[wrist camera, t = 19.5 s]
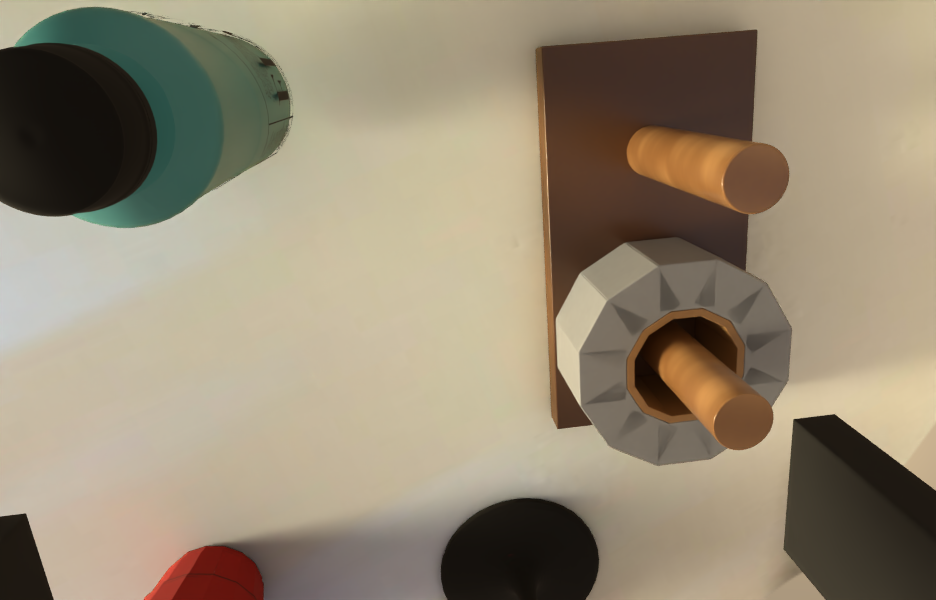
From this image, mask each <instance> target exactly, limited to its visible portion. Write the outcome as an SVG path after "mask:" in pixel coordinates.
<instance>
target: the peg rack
mask: <svg viewBox="0 0 936 600" xmlns="http://www.w3.org/2000/svg"><path fill="white" fill-rule="evenodd" d="M756 49H757V30H747V31H734V32H721V33H708V34H696V35H683V36H670V37H658V38H645V39H632V40H619V41H607V42H594V43H581V44H568V45H556V46H543V47H538V48H536V70H537V93H538V116H539V139H540V161H541V184H542V207H543V230H544V252H545V275H546V298H547V321H548V343H549V366H550V389H551V412H552V418H553V420H554V422H555V424H556V426H557V429H562V428H570V427H578V426H587V425H593V424H592V422H591V421H590V420H589V418H588V417H587V415H586V414H585V413H584V411H583V410H582V408H581V407H580V405H579V404H578V402H577V400H576V398H575V397H574V395H573V393H572V391H571V390H570V388H569V386H568V384H567V383H566V381H565V379H564V377H563V376H562V374H561V372H560V370H559V369H558V365H557V340H556V317H557V315H558V314H559V312H560V310H561V308H562V306H563V304H564V302H565V300H566V298H567V297H568V295H569V293H570V291H571V289H572V287H573V285H574V283H575V281H576V280H577V278H578V276H579V274H580V273H581V272H582V271H584V270H585V269H586V268H588V267H589V266H591V265H592V264H594V263H595V262H597V261H598V260H600V259H601V258H603V257H604V256H606V255H607V254H609V253H610V252H611V251H613V250H614V249H616V248H617V247H619V246H620V245H622V244H623V243H626V242H632V241H642V240H652V239H662V238H672V237H679V238H681V239H683V240H685V241H687V242H689V243H691V244H693V245H695V246H697V247H699V248H701V249H703V250H706V251H708V252H710V253H712V254H714V255H716V256H718V257H720V258H722V259H724V260H726V261H727V262H729V263H731V264H733V265H735V266H737V267H738V268H740V269H742V270H744V271H746V253H747V232H748V214H757V213H761V212H763V211H766V210H768V209H769V208H771V207H772V206H774V205H775V204H776V203H777V202H778V201H779V200H780V198H781V197H782V196H783V194H784V192H785V190H786V188H787V185H788V181H789V167H788V164H787V161H786V159H785V157H784V156H783V154H782V153H781V152H780V151H779V150H778V149H777V148H775V147H773V146H771V145H768V144H763V143H758V142H752V131H753V110H754V90H755V69H756ZM695 326H696V317H689V318H680V319H673V320H671V321H670V322H668V323H667V324H665V325H664V326H662V327H661V328H659V329H658V330H656V331H655V332H653V333H652V334H650V335H649V336H648V337H647V339H646V341H645V343H644V344H643V346H642V348H641V350H640V352H639V353H638V355H637V357H636V359H635V375H636V376H647V375H656V374H658V376H659V377H660V378H661V379H662V380H663V381H664V382H665V383H666V384H667V386H668V387H669V388H670V389H671V390H672V391H673V392H674V393H675V394H676V396H677V397H678V398H679V399H680V400H681V401H682V402H683V403H684V404H685V405H686V407H687V408H688V409H689V410H690V411H691V412H692V413H693V414H694V415H695V417H696V418H697V419H698V420H699V421H700V422H701V423H702V424H703V425H704V427H705V428H706V429H707V430H708V431H709V432H710V433H711V434H712V435H713V437H714V438H715V439H716V440H717V441H718V442H719V443H720V444H721V445H722V446H724V447H726V448H729V449H733V450H744V449H748V448H751V447H753V446H755V445H757V444H758V443H760V442H761V441H762V440H763V439H764V438H765V437H766V436H767V434H768V433H769V431H770V429H771V427H772V424H773V410H772V407H771V405H770V404H769V402H768V401H767V400H766V399H765V398H764V397H762V396H761V395H760V394H759V393H758V392H757V391H755V390H754V389H753V388H752V387H751V386H750V385H748V384H747V383H746V382H745V381H744V380H743V379H741V378H740V377H739V376H738V375H737V374H735V373H734V372H733V371H732V370H731V369H730V368H728V367H727V366H726V365H725V364H724V363H723V362H721V361H720V360H719V359H718V358H717V357H716V356H714V355H713V354H712V353H711V352H710V351H709V350H707V349H706V348H705V347H704V346H703V345H702V344H700V343H699V342H698V341H697V340H696V339H695Z"/></svg>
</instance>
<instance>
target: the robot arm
mask: <svg viewBox="0 0 936 600" xmlns="http://www.w3.org/2000/svg"><path fill="white" fill-rule="evenodd" d="M784 550H785V551H786V553H787V554H788V555H789V556H790V557H791V559H792V560H793V561H794V562H795V563H796V565H797V566H798V567H799V568H800V569H801V571H802V572H803V573H804V574H805V575H806V577H807V578H808V579H809V580H810V581H811V583H812V584H813V585H814V586H815V587H816V588H817V590H818V591H819V592H820V593H821V595H822V596H823V597H824V598H825V599H826V600H936V491H935V490H934V489H933V488H932V487H930V486H929V485H927V484H926V483H925V482H924V481H922V480H921V479H920V478H918V477H917V476H916V475H914V474H913V473H912V472H910V471H909V470H908V469H906V468H905V467H904V466H902V465H901V464H900V463H898V462H897V461H896V460H894V459H893V458H892V457H890V456H889V455H888V454H886V453H885V452H884V451H883V450H881V449H880V448H879V447H877V446H876V445H875V444H873V443H872V442H871V441H869V440H868V439H867V438H865V437H864V436H863V435H861V434H860V433H859V432H857V431H856V430H855V429H853V428H852V427H851V426H849V425H848V424H847V423H845V422H844V421H843V420H841V419H840V418H839V417H838V416H836V415H835V414H833V415H825V416H817V417H808V418H800V419H794V420H793V433H792V446H791V459H790V472H789V485H788V498H787V511H786V524H785V537H784ZM0 600H54V599H53V596H52V593H51V590H50V587H49V584H48V581H47V578H46V574H45V571H44V568H43V565H42V562H41V559H40V556H39V553H38V550H37V546H36V543H35V540H34V537H33V534H32V531H31V528H30V525H29V522H28V518H27V515H26V514H18V515H10V516H2V517H0Z"/></svg>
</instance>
